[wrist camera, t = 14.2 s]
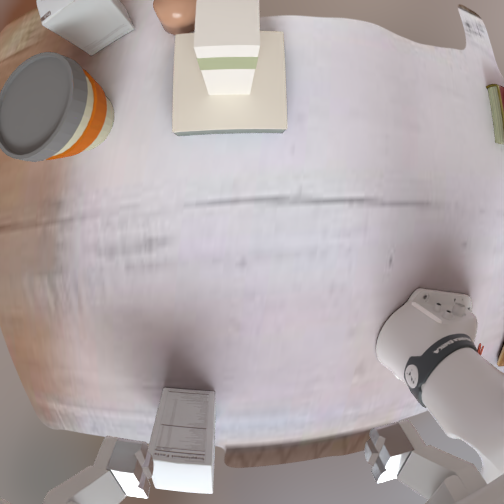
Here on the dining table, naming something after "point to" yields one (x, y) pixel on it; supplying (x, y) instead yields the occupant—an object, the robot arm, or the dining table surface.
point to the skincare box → (86, 21)
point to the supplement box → (184, 441)
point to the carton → (227, 44)
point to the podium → (230, 106)
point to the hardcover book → (497, 110)
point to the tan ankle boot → (501, 358)
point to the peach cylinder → (176, 15)
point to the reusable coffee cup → (52, 110)
